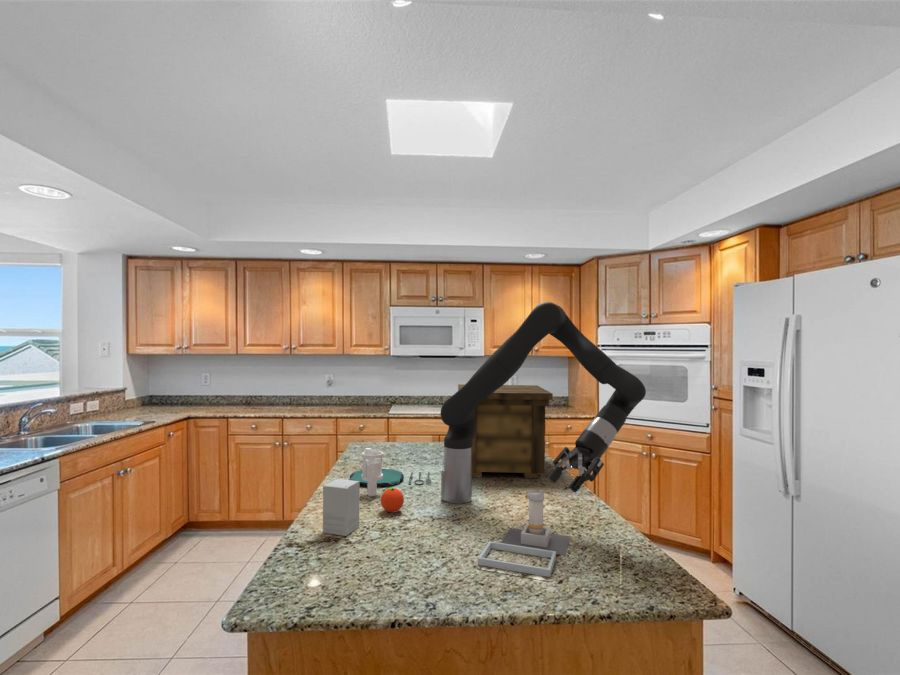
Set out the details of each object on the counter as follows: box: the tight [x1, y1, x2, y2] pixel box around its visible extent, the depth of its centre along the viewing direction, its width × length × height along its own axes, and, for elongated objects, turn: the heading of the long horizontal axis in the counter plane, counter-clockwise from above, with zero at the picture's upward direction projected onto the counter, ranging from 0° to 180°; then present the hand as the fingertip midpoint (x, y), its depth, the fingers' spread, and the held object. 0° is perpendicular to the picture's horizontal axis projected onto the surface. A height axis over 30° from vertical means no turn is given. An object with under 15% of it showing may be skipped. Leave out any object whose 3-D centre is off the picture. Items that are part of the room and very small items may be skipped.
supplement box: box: [322, 478, 361, 537], centre depth 131 cm, size 7×7×13 cm
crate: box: [457, 383, 554, 479], centre depth 197 cm, size 35×35×33 cm
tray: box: [477, 541, 557, 583], centre depth 111 cm, size 16×10×3 cm, turn 70°
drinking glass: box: [361, 447, 384, 497], centre depth 162 cm, size 7×7×15 cm
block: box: [500, 524, 572, 556], centre depth 122 cm, size 16×12×4 cm
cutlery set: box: [349, 468, 432, 486], centre depth 179 cm, size 20×30×2 cm, turn 92°
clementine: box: [380, 487, 405, 513], centre depth 146 cm, size 8×7×7 cm
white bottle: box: [527, 490, 545, 535], centre depth 122 cm, size 4×4×12 cm
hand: (561, 485), depth 126 cm, fingers open, 8 cm apart
